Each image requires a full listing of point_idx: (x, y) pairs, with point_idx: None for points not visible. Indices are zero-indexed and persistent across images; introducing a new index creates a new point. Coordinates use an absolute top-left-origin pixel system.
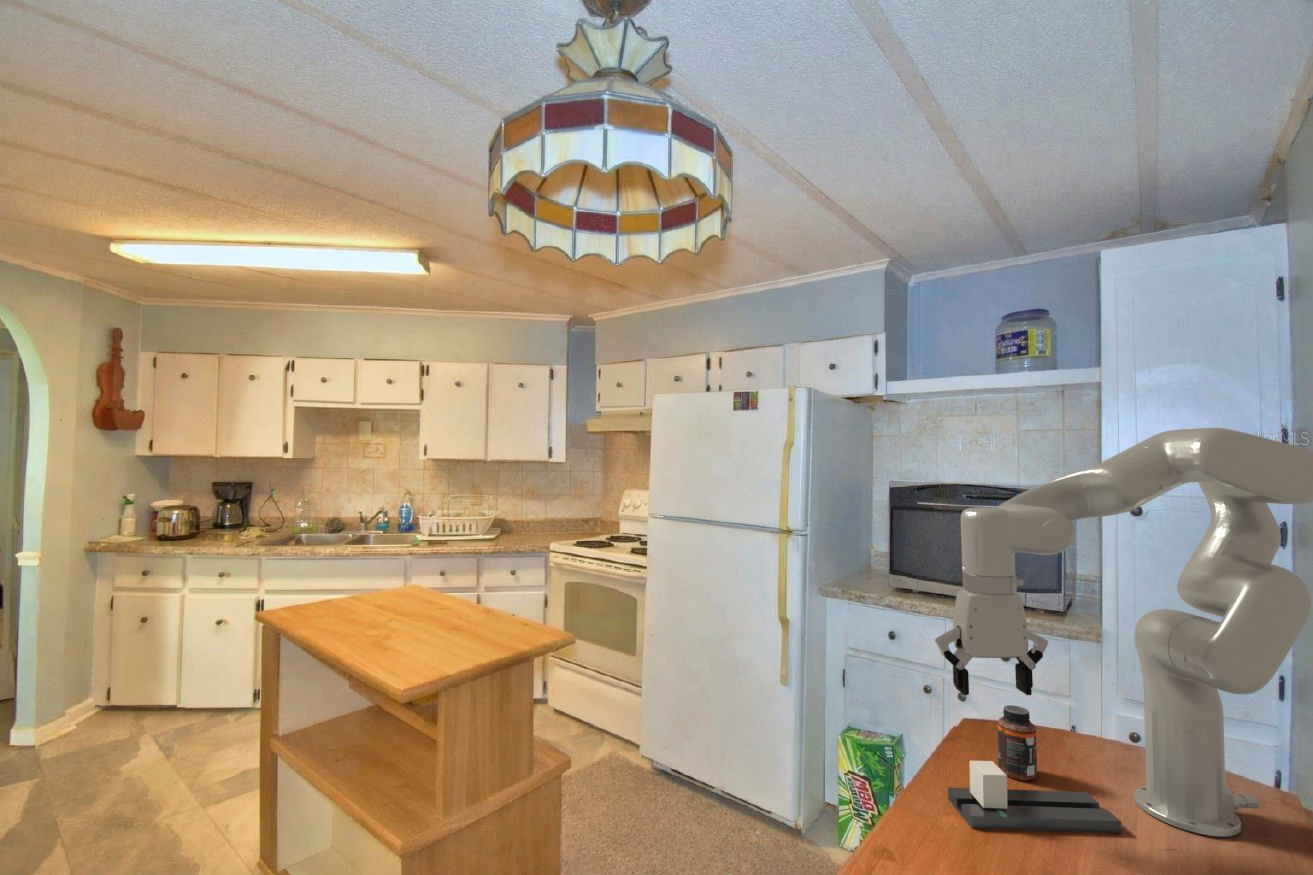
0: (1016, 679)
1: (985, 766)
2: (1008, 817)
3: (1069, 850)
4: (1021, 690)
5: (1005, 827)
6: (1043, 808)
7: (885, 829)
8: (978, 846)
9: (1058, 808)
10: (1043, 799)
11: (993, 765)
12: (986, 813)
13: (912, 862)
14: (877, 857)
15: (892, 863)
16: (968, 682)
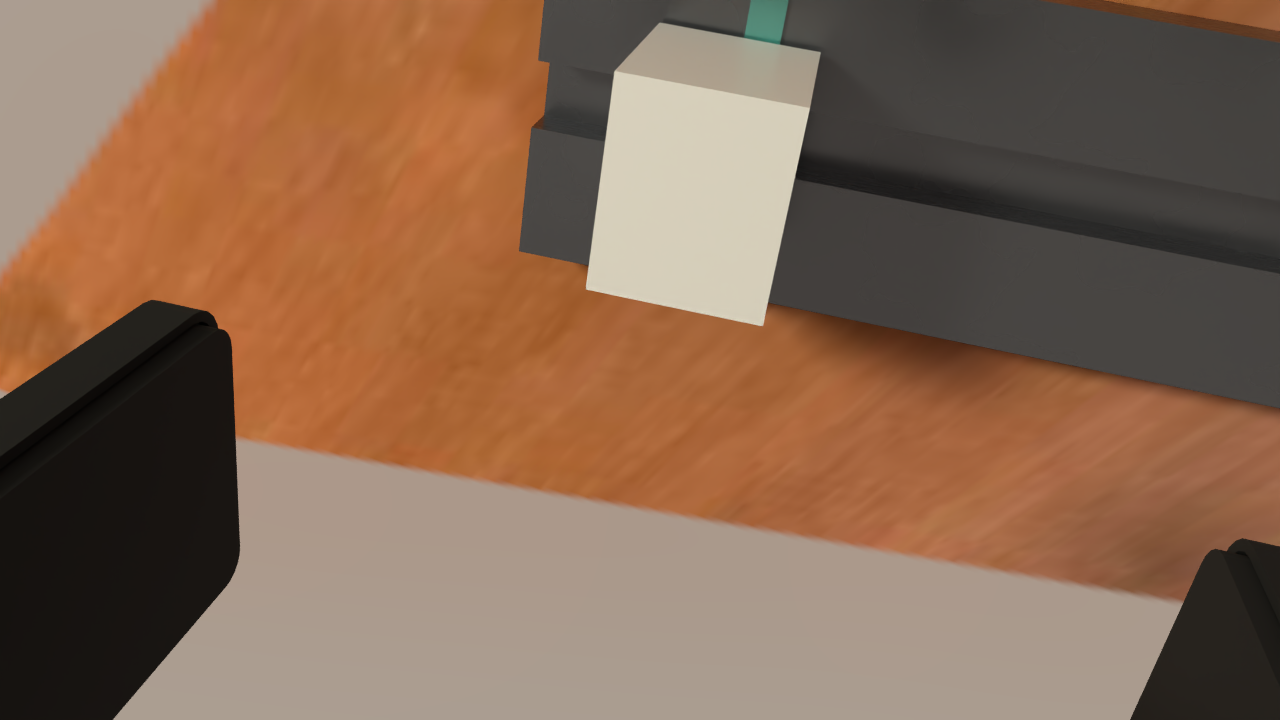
0: (1244, 673)
1: (688, 179)
2: None
3: (931, 461)
4: (1157, 681)
5: None
6: (1045, 246)
7: (81, 170)
8: (487, 361)
9: (1150, 261)
10: (1151, 150)
11: (767, 175)
12: None
13: None
14: (2, 352)
15: None
16: (129, 694)
